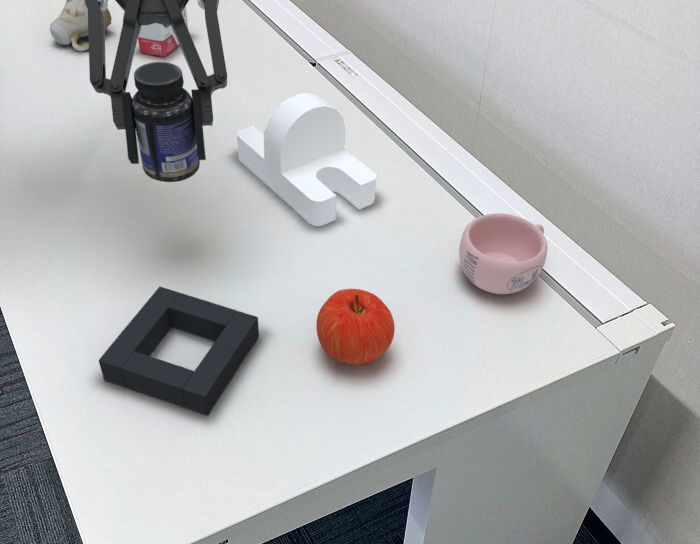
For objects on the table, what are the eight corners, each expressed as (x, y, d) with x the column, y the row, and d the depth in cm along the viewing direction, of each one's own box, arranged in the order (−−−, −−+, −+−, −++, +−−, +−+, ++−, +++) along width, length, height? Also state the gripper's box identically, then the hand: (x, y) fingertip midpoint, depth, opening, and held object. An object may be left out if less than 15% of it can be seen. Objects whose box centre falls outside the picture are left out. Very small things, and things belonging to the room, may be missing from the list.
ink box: (164, 59, 124) (154, -17, 115) (137, 52, 125) (125, -23, 116) (191, 36, 130) (183, -37, 121) (164, 30, 131) (155, -43, 122)
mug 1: (39, 44, 126) (42, -22, 123) (92, 54, 133) (96, -8, 130) (64, 48, 121) (67, -21, 118) (117, 58, 129) (122, -6, 126)
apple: (300, 351, 82) (300, 296, 76) (350, 313, 87) (354, 259, 81) (356, 391, 79) (360, 337, 73) (405, 350, 83) (413, 296, 77)
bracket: (235, 156, 106) (229, 79, 98) (295, 134, 111) (295, 59, 102) (315, 228, 96) (316, 149, 88) (378, 201, 101) (385, 124, 93)
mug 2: (496, 317, 87) (506, 278, 83) (437, 269, 92) (444, 230, 88) (566, 276, 93) (579, 238, 88) (507, 233, 98) (516, 195, 93)
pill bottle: (208, 157, 85) (199, 63, 77) (188, 189, 81) (176, 92, 73) (155, 148, 86) (141, 53, 78) (133, 179, 82) (115, 82, 74)
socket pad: (103, 379, 78) (98, 360, 76) (163, 305, 86) (159, 286, 84) (207, 415, 76) (205, 396, 74) (259, 336, 83) (258, 316, 81)
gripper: (240, -56, 83) (260, 161, 84) (54, -54, 80) (77, 171, 81) (241, -93, 75) (263, 146, 76) (37, -92, 72) (62, 156, 73)
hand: (167, 158), depth 79 cm, fingers closed on pill bottle, 6 cm apart
